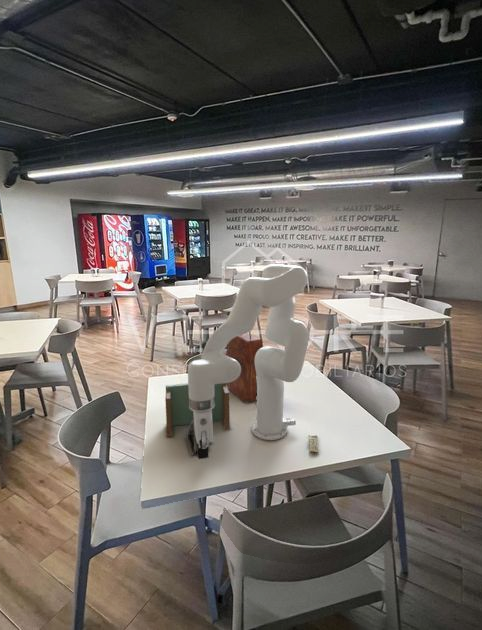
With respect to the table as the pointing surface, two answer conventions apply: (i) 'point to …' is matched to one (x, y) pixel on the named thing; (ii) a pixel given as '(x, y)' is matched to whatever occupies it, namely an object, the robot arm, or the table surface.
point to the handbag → (244, 365)
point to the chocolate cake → (192, 439)
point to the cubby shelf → (183, 415)
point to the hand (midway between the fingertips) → (202, 456)
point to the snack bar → (313, 443)
